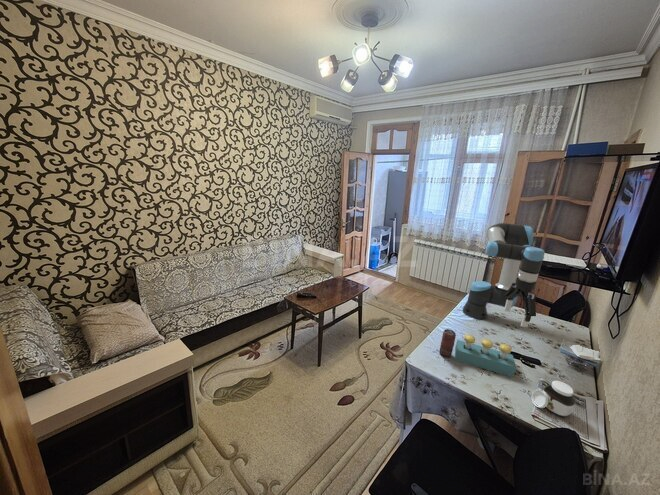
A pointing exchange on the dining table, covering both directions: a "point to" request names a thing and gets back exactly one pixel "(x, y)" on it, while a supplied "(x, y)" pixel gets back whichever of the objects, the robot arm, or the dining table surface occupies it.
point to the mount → (485, 359)
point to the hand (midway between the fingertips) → (514, 318)
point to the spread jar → (555, 398)
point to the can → (447, 343)
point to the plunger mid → (486, 346)
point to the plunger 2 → (504, 351)
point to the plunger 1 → (469, 341)
